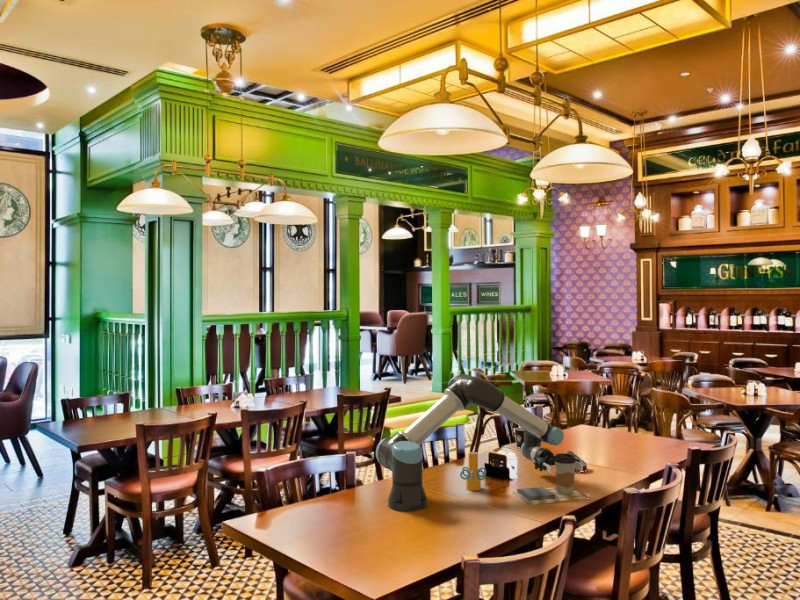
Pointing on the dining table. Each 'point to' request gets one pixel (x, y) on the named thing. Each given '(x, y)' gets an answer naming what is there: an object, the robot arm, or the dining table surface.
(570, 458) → the coffee cup
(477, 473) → the orange box with loops
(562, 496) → the board
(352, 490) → the dining table surface
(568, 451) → the canned food
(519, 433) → the coffee mug
